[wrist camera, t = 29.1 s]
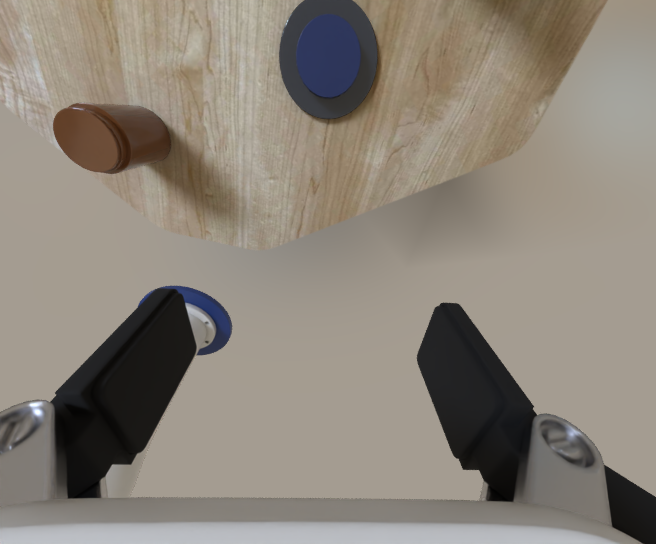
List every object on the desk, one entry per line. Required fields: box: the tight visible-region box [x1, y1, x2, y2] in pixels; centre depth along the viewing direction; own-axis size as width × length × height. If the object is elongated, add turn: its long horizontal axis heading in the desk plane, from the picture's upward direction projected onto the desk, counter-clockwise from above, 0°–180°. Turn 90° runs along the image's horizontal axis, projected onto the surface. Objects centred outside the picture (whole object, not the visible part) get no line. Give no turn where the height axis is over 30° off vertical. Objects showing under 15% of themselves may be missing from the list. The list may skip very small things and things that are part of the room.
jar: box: [53, 103, 171, 174], centre depth 29 cm, size 6×6×9 cm
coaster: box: [279, 0, 377, 119], centre depth 29 cm, size 11×11×1 cm
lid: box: [296, 14, 361, 99], centre depth 28 cm, size 7×7×2 cm
